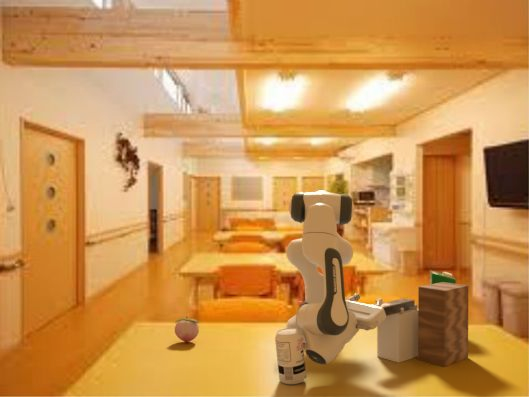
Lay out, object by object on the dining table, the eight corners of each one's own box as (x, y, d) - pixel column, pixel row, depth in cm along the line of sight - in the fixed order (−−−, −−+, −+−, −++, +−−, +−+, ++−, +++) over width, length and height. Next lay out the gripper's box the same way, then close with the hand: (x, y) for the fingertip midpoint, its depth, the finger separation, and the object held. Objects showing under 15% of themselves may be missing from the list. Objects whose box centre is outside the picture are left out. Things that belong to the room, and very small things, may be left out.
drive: (377, 318, 189) (377, 308, 189) (366, 315, 193) (366, 306, 193) (414, 308, 204) (414, 299, 204) (403, 306, 208) (403, 297, 208)
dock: (398, 362, 194) (399, 309, 194) (377, 356, 201) (377, 305, 201) (422, 354, 203) (422, 304, 203) (401, 349, 210) (401, 300, 210)
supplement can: (278, 377, 179) (273, 329, 178) (304, 373, 180) (299, 326, 179) (281, 386, 171) (276, 336, 170) (308, 383, 172) (303, 333, 171)
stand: (444, 366, 190) (444, 290, 189) (418, 359, 197) (418, 286, 197) (467, 357, 200) (468, 285, 199) (442, 351, 207) (442, 282, 207)
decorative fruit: (201, 339, 223) (201, 313, 223) (196, 345, 215) (196, 318, 215) (177, 339, 224) (177, 313, 224) (172, 344, 216) (172, 318, 216)
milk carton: (455, 337, 227) (455, 273, 226) (431, 336, 228) (431, 273, 228) (452, 331, 235) (453, 270, 235) (429, 330, 237) (430, 269, 237)
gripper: (368, 323, 174) (392, 294, 182) (318, 311, 189) (342, 285, 197) (374, 339, 176) (398, 310, 184) (324, 326, 192) (348, 300, 199)
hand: (369, 297), depth 191 cm, fingers open, 8 cm apart
